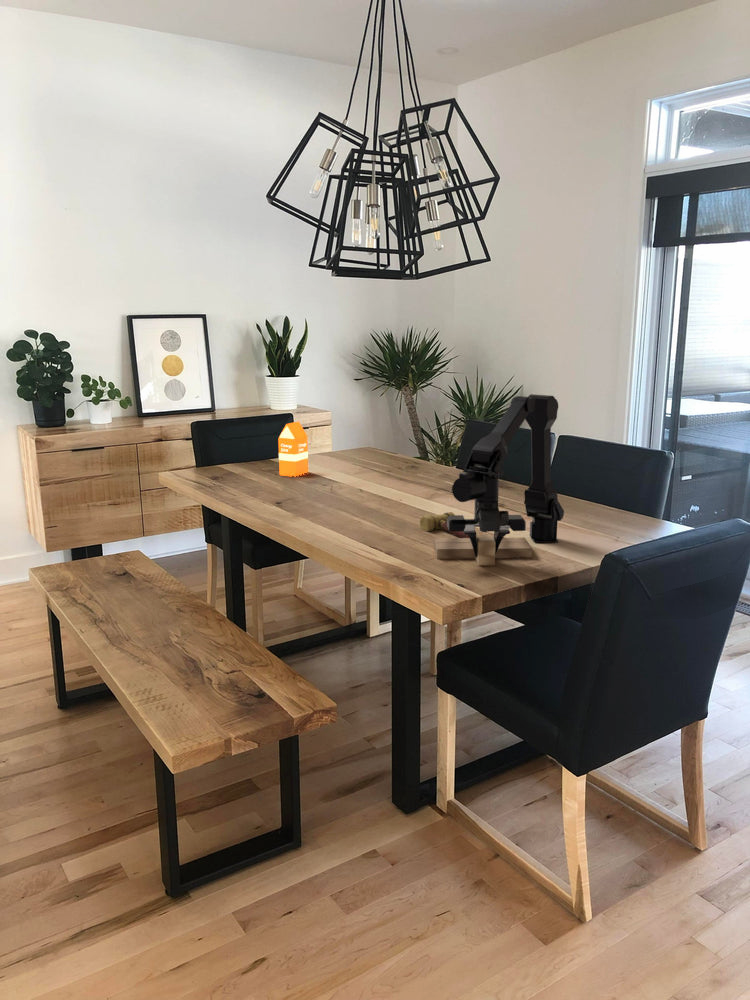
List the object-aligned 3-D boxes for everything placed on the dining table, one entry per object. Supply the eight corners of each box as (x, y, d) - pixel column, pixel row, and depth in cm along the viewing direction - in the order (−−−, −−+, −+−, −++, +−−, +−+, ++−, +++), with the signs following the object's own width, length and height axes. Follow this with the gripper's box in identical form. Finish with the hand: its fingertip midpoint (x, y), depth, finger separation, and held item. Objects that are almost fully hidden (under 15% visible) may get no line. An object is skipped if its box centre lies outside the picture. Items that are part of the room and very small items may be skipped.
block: (487, 551, 210) (488, 529, 209) (494, 565, 199) (495, 541, 197) (472, 551, 210) (472, 529, 209) (478, 565, 199) (479, 541, 197)
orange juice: (279, 475, 312) (277, 423, 308) (292, 471, 320) (290, 420, 315) (296, 476, 309) (294, 424, 304) (308, 472, 316) (307, 421, 312)
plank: (524, 546, 215) (524, 537, 214) (531, 557, 205) (532, 548, 204) (434, 547, 215) (434, 538, 214) (437, 558, 205) (437, 548, 204)
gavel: (493, 530, 220) (463, 535, 215) (492, 546, 221) (462, 551, 216) (448, 510, 237) (419, 514, 232) (447, 524, 239) (419, 529, 234)
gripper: (451, 502, 190) (450, 566, 193) (531, 502, 190) (528, 566, 194) (447, 492, 201) (446, 553, 204) (522, 492, 201) (520, 552, 204)
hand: (485, 556), depth 201 cm, fingers closed on block, 4 cm apart
